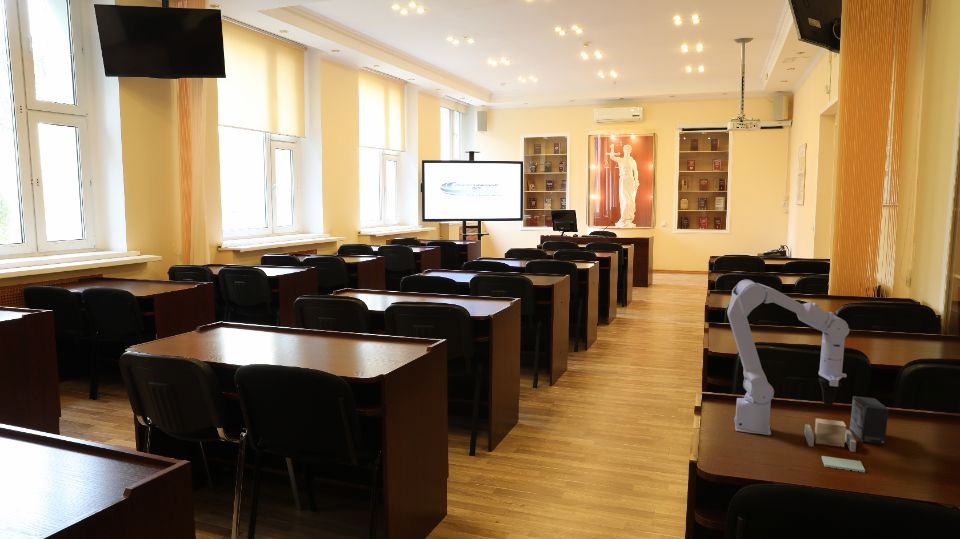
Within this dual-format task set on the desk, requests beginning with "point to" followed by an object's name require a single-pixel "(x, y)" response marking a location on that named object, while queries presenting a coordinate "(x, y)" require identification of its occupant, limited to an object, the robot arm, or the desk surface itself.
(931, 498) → the desk surface
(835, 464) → the mat
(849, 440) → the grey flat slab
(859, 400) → the small box
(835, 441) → the block
